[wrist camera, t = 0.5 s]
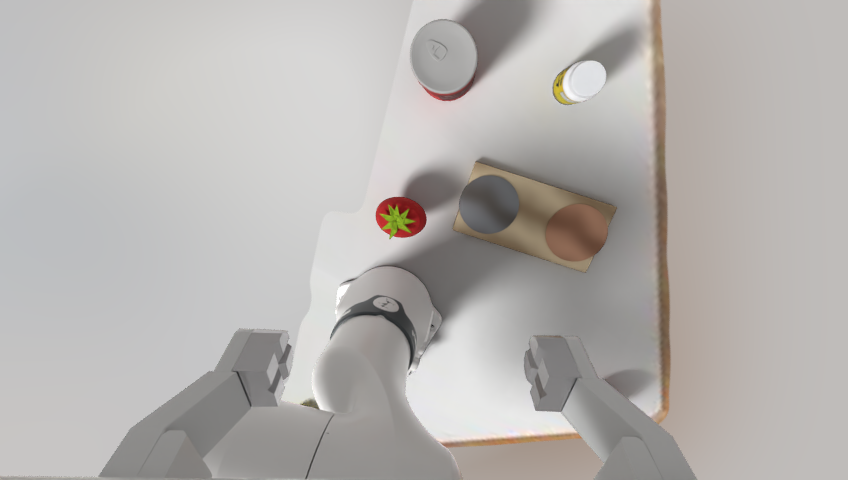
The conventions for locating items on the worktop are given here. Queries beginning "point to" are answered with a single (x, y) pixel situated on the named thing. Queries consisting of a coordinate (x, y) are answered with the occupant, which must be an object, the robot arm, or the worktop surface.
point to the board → (533, 217)
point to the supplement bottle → (579, 82)
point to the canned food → (444, 59)
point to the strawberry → (400, 217)
